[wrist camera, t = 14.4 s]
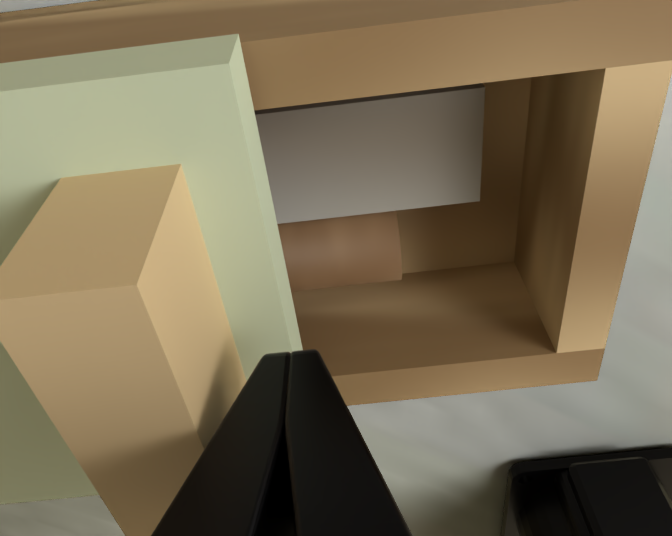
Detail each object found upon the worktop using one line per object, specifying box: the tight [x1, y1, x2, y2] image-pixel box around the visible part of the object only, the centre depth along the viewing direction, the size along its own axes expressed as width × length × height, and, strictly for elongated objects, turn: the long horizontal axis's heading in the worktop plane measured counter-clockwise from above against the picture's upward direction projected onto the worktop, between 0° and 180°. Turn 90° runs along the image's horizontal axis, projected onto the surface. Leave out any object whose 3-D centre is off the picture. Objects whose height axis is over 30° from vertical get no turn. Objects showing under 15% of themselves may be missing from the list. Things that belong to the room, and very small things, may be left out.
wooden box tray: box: [0, 0, 672, 406], centre depth 12 cm, size 8×14×4 cm, turn 96°
